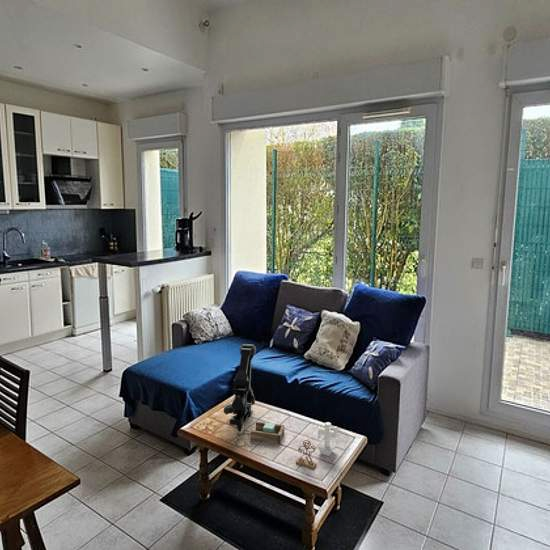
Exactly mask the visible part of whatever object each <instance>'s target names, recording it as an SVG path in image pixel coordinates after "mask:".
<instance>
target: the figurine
mask: <svg viewBox="0 0 550 550" xmlns="http://www.w3.org/2000/svg"><path fill="white" fill-rule="evenodd" d="M331 429H332V423H331V422H329V421H327V422H325V423H324V427H319V428H318V429H317V439H319V440H320V439H322V436H323V435H324V439H322V440H321V441H320V442H319V444H318V445H317V446H316V448H317V450H318V452H319V453H320V455H325V456H327V457H329V456H331V454H332V453H333V451H334V450H335V448H336V446H337V444H338V443H334V442H331V438H334V439H336V438H337V437H338V426H335V425H334V427H333V430H331Z"/></svg>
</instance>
